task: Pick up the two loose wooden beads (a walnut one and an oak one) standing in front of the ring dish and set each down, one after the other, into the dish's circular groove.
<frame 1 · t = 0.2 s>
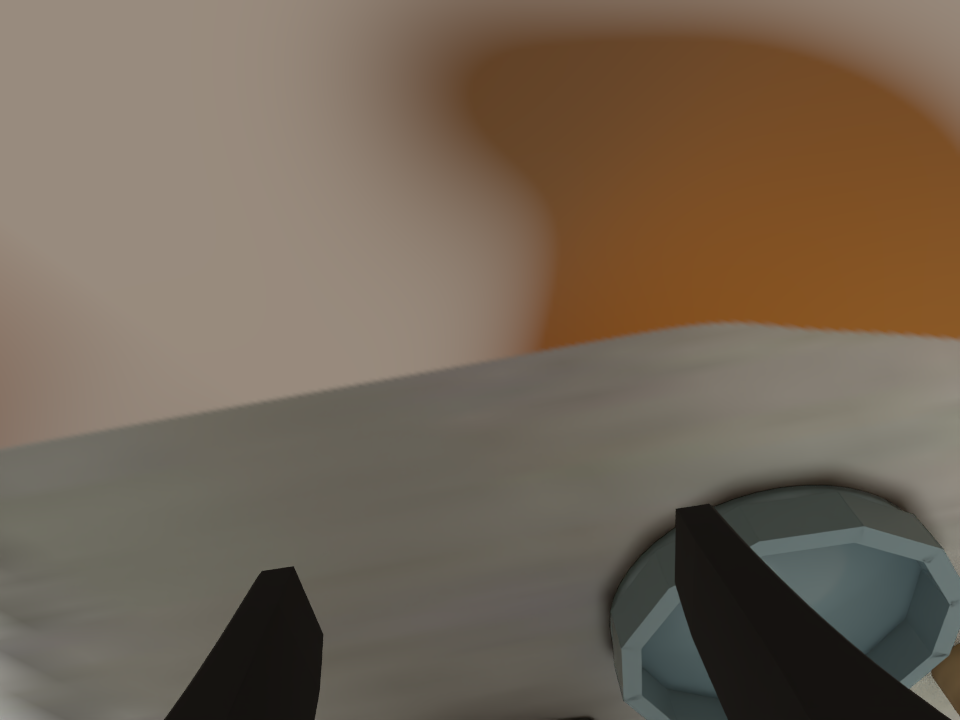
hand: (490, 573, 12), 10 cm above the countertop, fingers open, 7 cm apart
ring dish: (765, 603, 29), on the countertop
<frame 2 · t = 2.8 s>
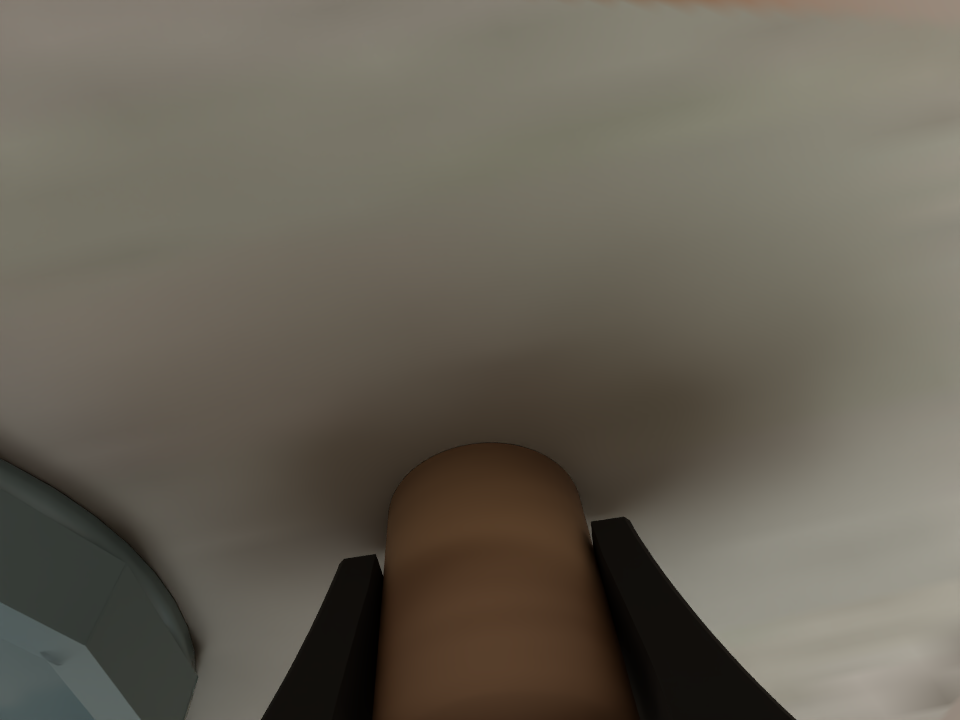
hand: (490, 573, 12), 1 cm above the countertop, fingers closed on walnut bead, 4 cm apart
walnut bead: (485, 518, 14), on the countertop, touching gripper
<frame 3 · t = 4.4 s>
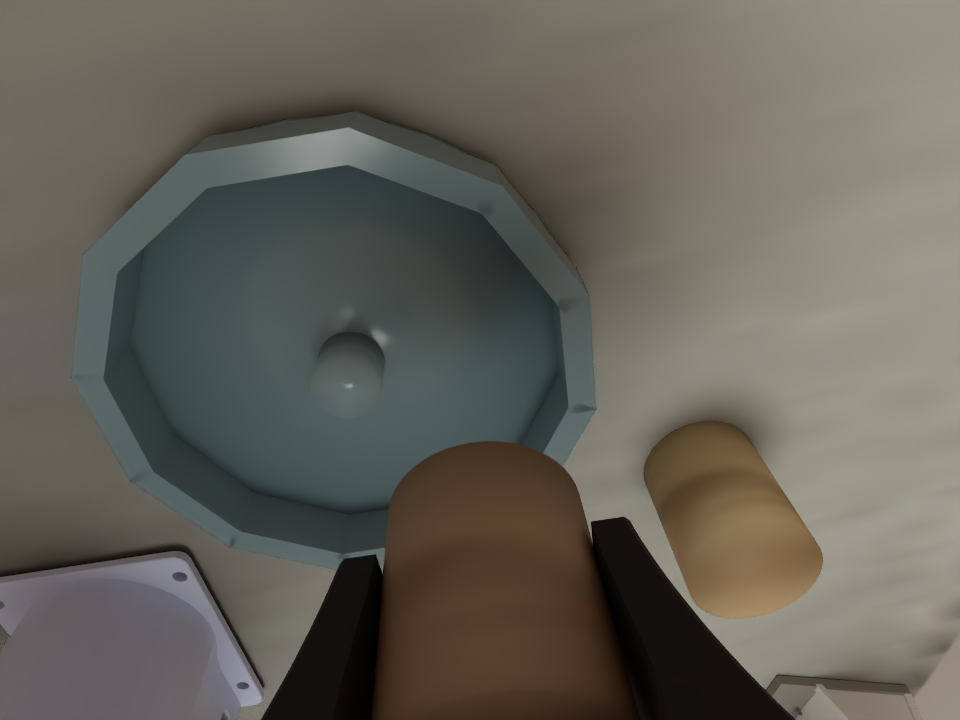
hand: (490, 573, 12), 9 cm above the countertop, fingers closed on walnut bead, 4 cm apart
ring dish: (353, 350, 20), on the countertop
walnut bead: (485, 517, 14), point 8 cm above the countertop, touching gripper
oak bead: (698, 465, 24), on the countertop
skyscraper: (823, 709, 33), on the countertop
when the fingers open (3 cm above the countertop, at t = 6.0 s): walnut bead stays where it is, resting on ring dish.
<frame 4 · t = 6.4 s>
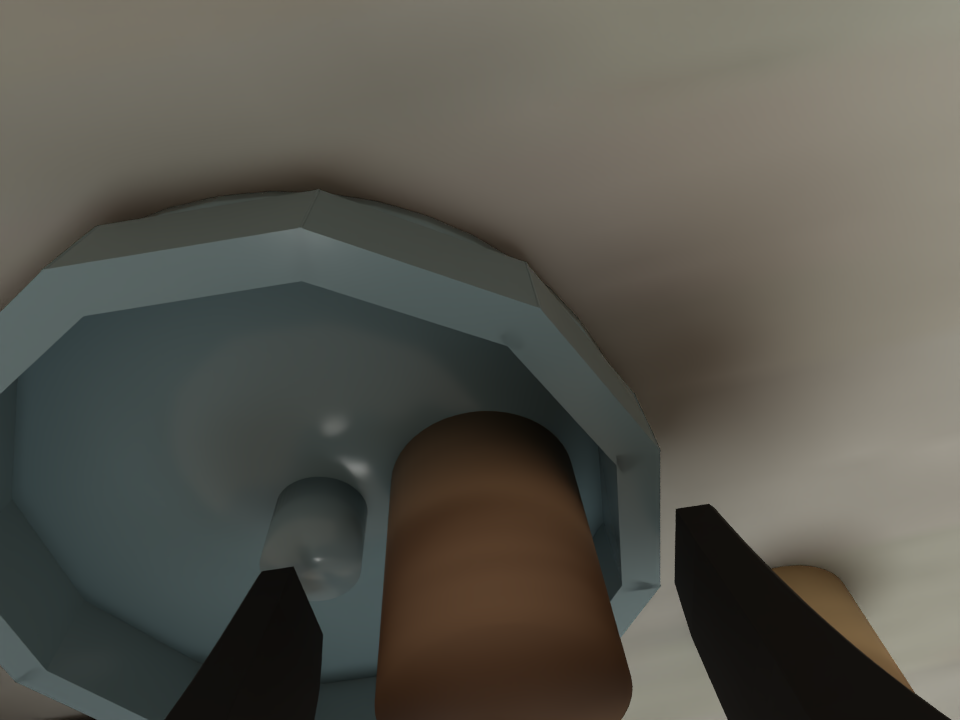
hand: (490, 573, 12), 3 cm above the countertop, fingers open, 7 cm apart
ring dish: (325, 492, 15), on the countertop
walnut bead: (482, 484, 14), point 1 cm above the countertop, touching ring dish
oak bead: (775, 614, 19), on the countertop
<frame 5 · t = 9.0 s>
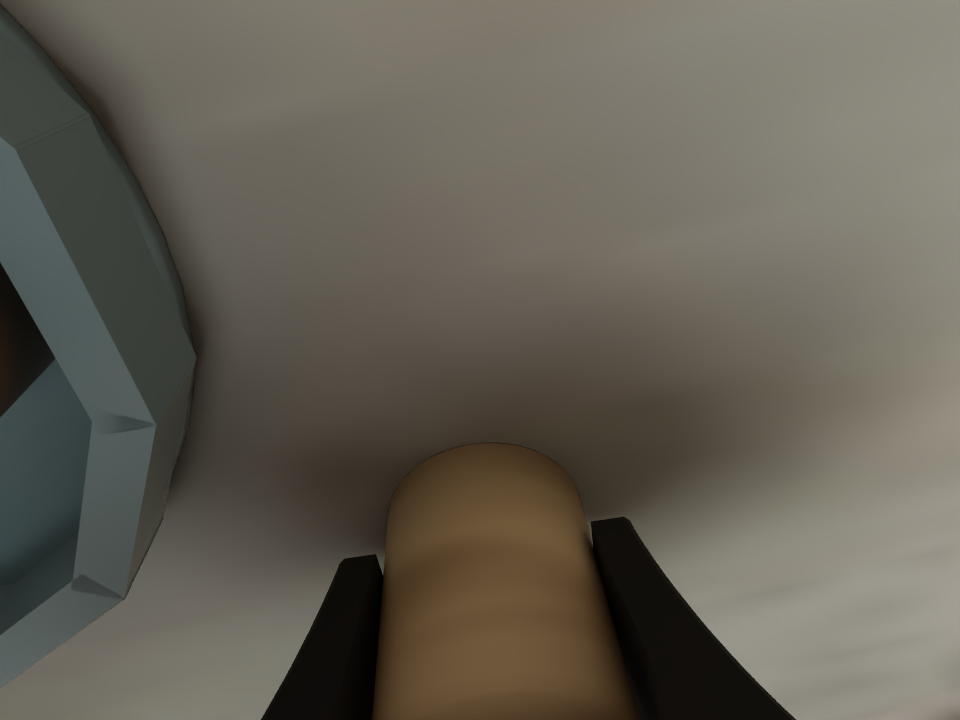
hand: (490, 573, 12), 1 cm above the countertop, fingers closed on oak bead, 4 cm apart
oak bead: (485, 518, 14), on the countertop, touching gripper
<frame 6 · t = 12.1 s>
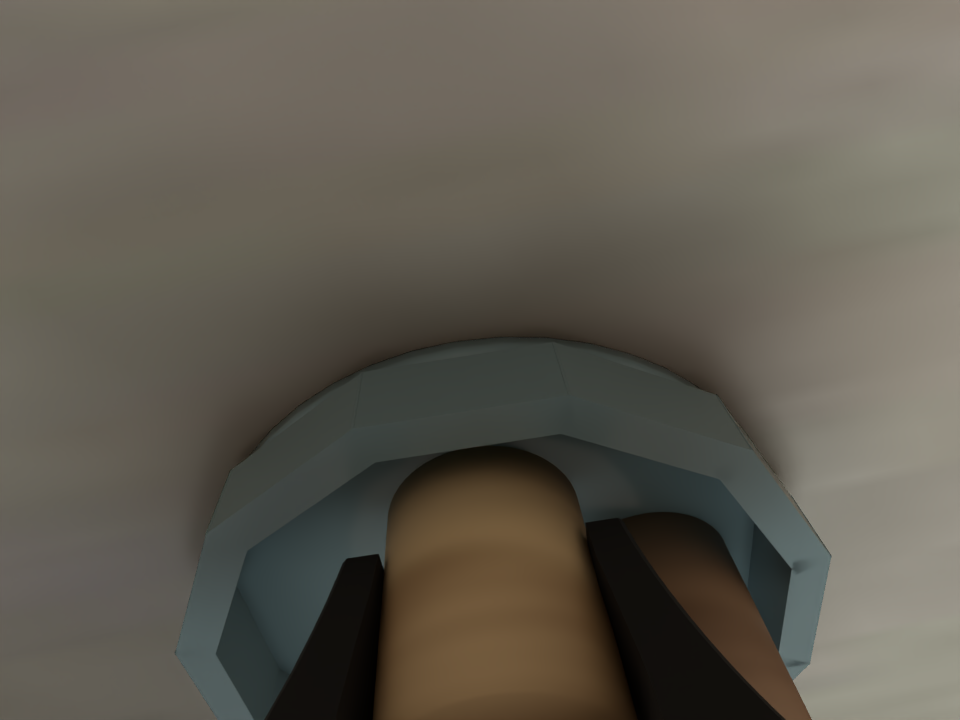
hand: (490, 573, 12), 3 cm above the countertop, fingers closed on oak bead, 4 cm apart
ring dish: (500, 574, 17), on the countertop
walnut bead: (646, 570, 16), point 1 cm above the countertop, touching gripper, ring dish
oak bead: (484, 520, 14), point 2 cm above the countertop, touching gripper
when the fingers open (3 cm above the countertop, at t = 12.4 s): oak bead stays where it is, resting on ring dish.
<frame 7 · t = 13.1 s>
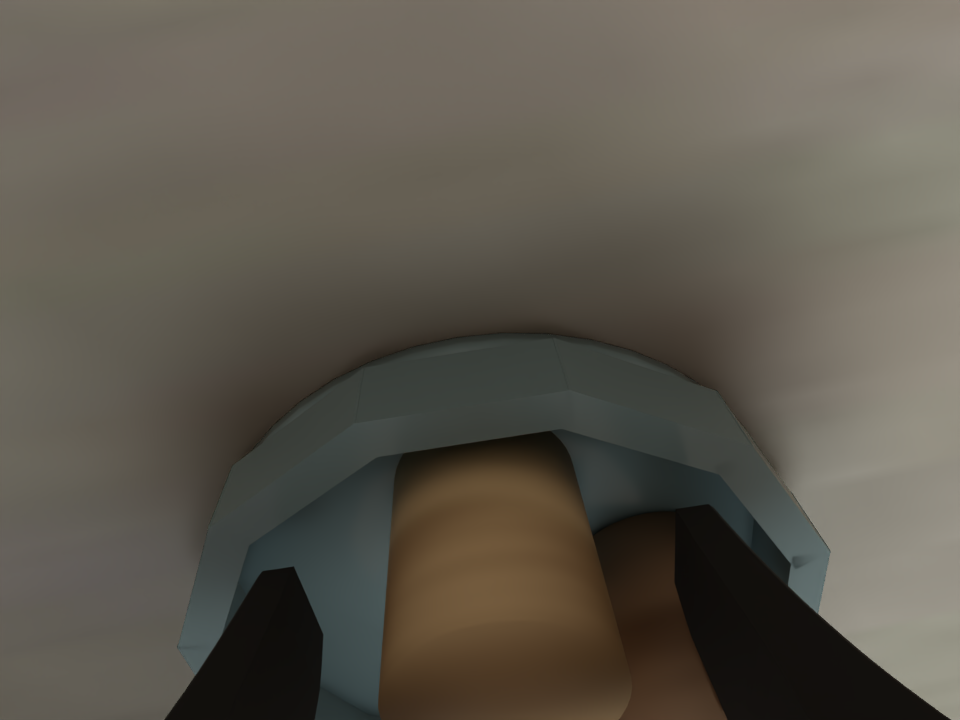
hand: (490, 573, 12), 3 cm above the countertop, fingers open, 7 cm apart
ring dish: (501, 569, 17), on the countertop
walnut bead: (647, 568, 16), point 1 cm above the countertop, touching gripper, ring dish
oak bead: (484, 484, 15), point 1 cm above the countertop, touching ring dish
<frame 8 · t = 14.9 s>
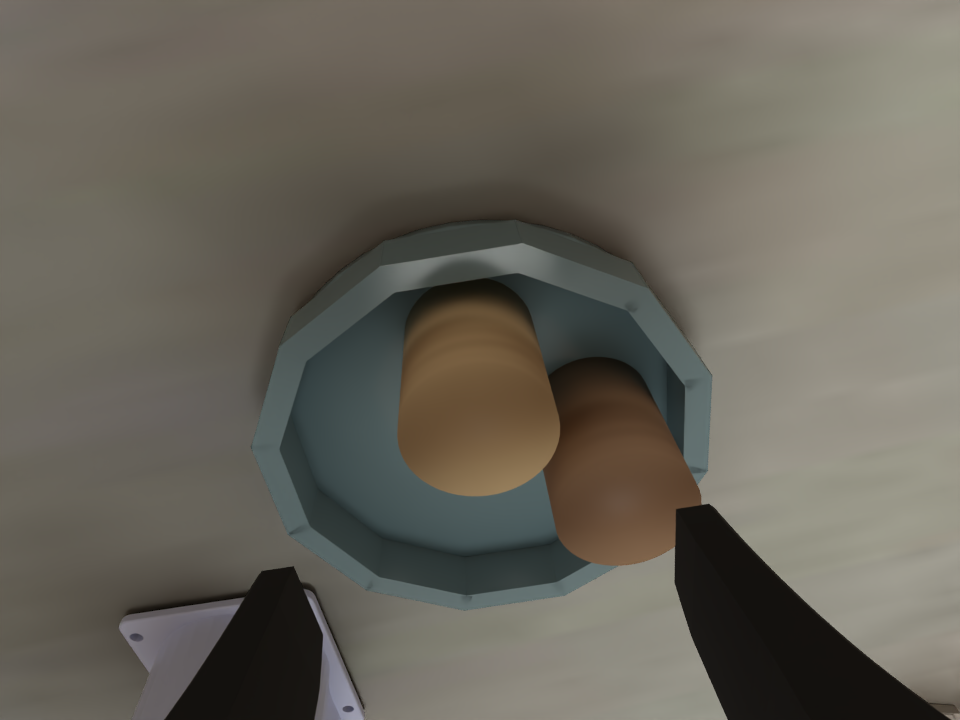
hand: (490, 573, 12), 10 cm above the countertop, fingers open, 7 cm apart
ring dish: (483, 414, 23), on the countertop
walnut bead: (590, 407, 22), point 1 cm above the countertop, touching ring dish
oak bead: (469, 335, 20), point 1 cm above the countertop, touching ring dish
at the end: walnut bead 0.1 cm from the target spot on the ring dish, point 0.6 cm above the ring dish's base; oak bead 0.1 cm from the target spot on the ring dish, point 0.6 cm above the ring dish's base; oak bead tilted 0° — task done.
